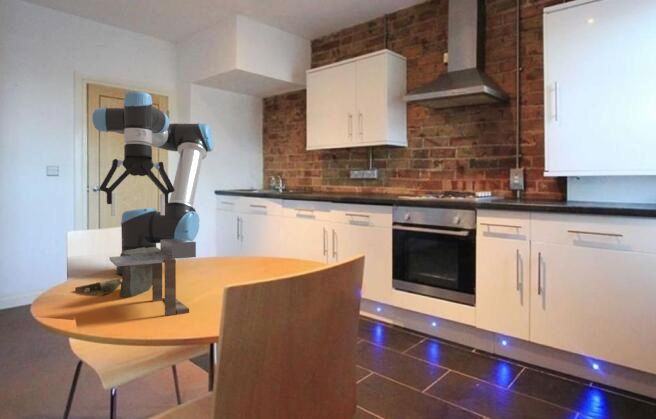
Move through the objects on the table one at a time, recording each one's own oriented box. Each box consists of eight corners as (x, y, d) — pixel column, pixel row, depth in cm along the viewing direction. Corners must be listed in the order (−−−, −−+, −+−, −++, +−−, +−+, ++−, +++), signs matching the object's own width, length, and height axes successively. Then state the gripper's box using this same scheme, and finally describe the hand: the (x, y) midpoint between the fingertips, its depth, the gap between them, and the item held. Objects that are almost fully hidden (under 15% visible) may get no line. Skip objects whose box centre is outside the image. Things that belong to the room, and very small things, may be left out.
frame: (152, 302, 114) (152, 253, 114) (173, 300, 117) (173, 252, 117) (165, 316, 100) (165, 260, 100) (189, 312, 104) (188, 258, 103)
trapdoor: (109, 260, 106) (109, 241, 106) (182, 255, 117) (182, 238, 117) (116, 266, 95) (116, 246, 95) (195, 260, 106) (195, 241, 106)
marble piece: (130, 254, 112) (117, 250, 113) (121, 304, 113) (109, 300, 114) (166, 246, 128) (154, 243, 129) (158, 290, 129) (146, 287, 130)
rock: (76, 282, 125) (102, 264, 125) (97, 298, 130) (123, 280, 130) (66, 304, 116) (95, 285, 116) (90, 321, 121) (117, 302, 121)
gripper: (91, 138, 110) (91, 216, 110) (184, 146, 124) (184, 215, 124) (89, 142, 117) (89, 215, 117) (178, 149, 131) (178, 214, 131)
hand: (138, 215), depth 121 cm, fingers open, 13 cm apart
